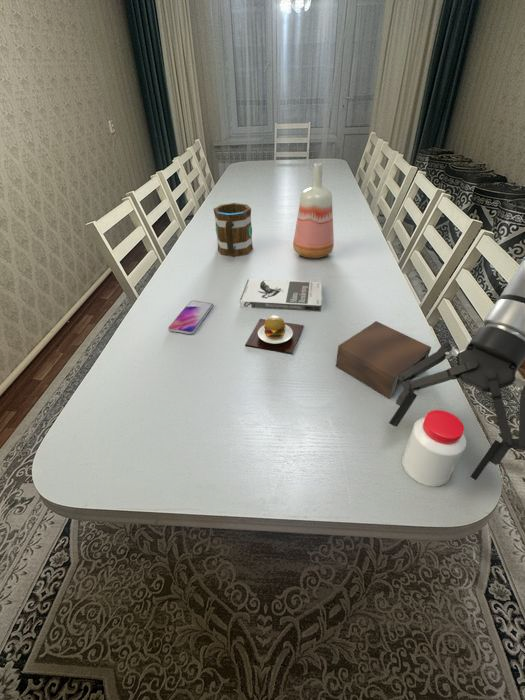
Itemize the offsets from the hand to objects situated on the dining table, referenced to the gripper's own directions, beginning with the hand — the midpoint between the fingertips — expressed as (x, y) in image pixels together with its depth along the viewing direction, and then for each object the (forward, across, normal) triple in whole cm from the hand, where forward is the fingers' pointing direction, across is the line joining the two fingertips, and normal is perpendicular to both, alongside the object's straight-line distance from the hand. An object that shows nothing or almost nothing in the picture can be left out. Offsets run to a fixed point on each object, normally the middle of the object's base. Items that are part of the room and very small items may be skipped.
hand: (430, 450), depth 57 cm
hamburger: (-2, +45, -10) cm, 46 cm away
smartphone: (+6, +67, -2) cm, 67 cm away
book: (-12, +58, -20) cm, 63 cm away
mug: (-19, +94, -27) cm, 100 cm away
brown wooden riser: (-8, +20, -16) cm, 27 cm away
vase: (-33, +73, -42) cm, 90 cm away
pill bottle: (+3, 0, -5) cm, 6 cm away
